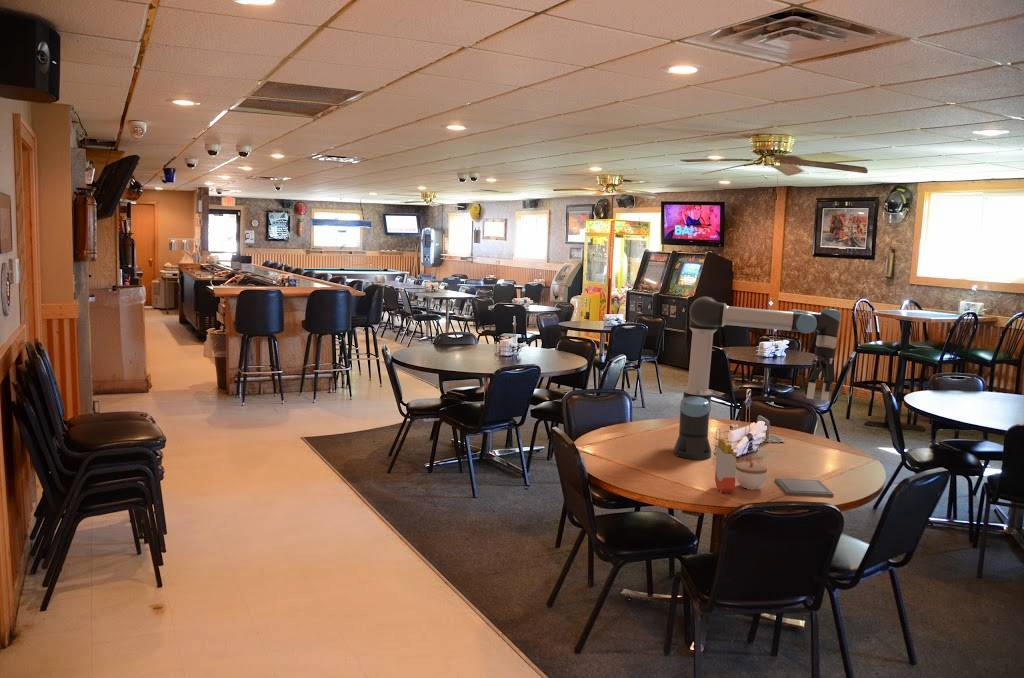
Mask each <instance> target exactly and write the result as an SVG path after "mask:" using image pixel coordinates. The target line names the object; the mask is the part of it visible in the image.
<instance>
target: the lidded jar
mask: <svg viewBox="0 0 1024 678" xmlns="http://www.w3.org/2000/svg"><path fill="white" fill-rule="evenodd" d="M767 471H768V468H767V466H765V465H763V464H760V463H755V462H753V461H750V462H749V461H748V462H747V461H746V462H744V461H743V462H739V463H736V476H735V479H736V481H737V483H738V484H739V485H740V487H741V486H742V487H744V488H747V489H746V490H748V489H753V490H752V491H755V490H754V489H757V490H759V489H760V488H761V487H762V486H763V485H764V484H765V481H766V478H767ZM742 487H741V488H742ZM744 488H743V489H744Z"/></svg>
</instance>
